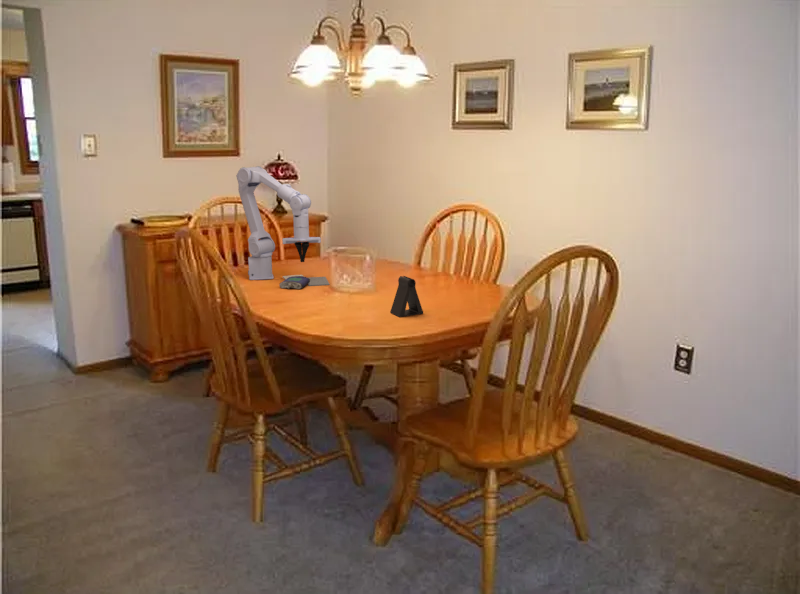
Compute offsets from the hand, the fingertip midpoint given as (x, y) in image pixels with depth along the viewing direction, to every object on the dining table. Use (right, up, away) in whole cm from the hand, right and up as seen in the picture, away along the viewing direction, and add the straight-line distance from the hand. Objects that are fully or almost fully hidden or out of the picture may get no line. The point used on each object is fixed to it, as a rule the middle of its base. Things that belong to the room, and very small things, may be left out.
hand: (302, 261), depth 265 cm
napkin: (-5, -6, +11) cm, 13 cm away
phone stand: (+40, -19, -42) cm, 61 cm away
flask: (-1, -7, 0) cm, 7 cm away
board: (+5, -8, +4) cm, 10 cm away
